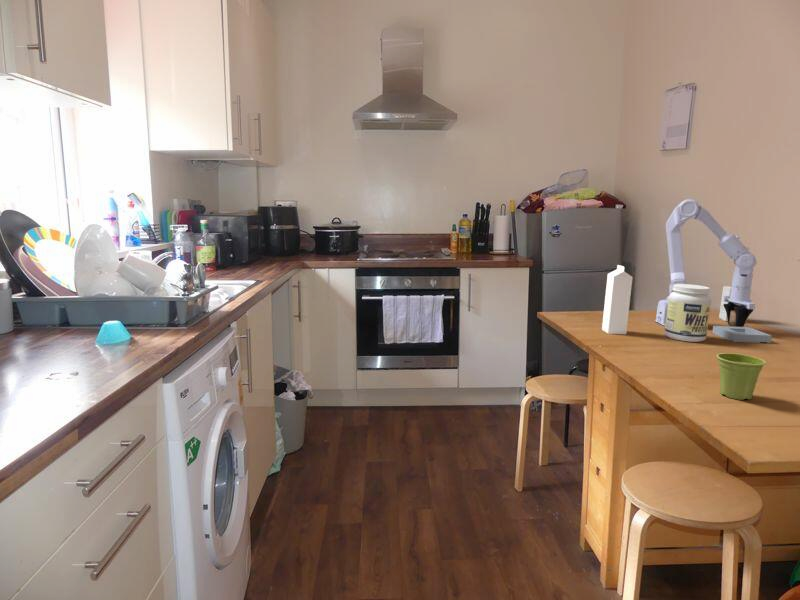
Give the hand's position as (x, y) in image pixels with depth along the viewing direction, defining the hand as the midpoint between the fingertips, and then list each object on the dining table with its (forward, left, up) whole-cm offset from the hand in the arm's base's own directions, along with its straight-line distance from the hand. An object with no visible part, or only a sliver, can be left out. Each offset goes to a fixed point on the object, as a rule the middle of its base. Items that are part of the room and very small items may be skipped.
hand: (735, 326), depth 195 cm
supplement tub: (-24, -13, -2) cm, 27 cm away
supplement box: (+11, +20, -2) cm, 23 cm away
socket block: (-4, -10, -2) cm, 11 cm away
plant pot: (-41, -69, -2) cm, 80 cm away
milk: (-45, -8, -2) cm, 46 cm away
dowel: (0, 0, -2) cm, 2 cm away
